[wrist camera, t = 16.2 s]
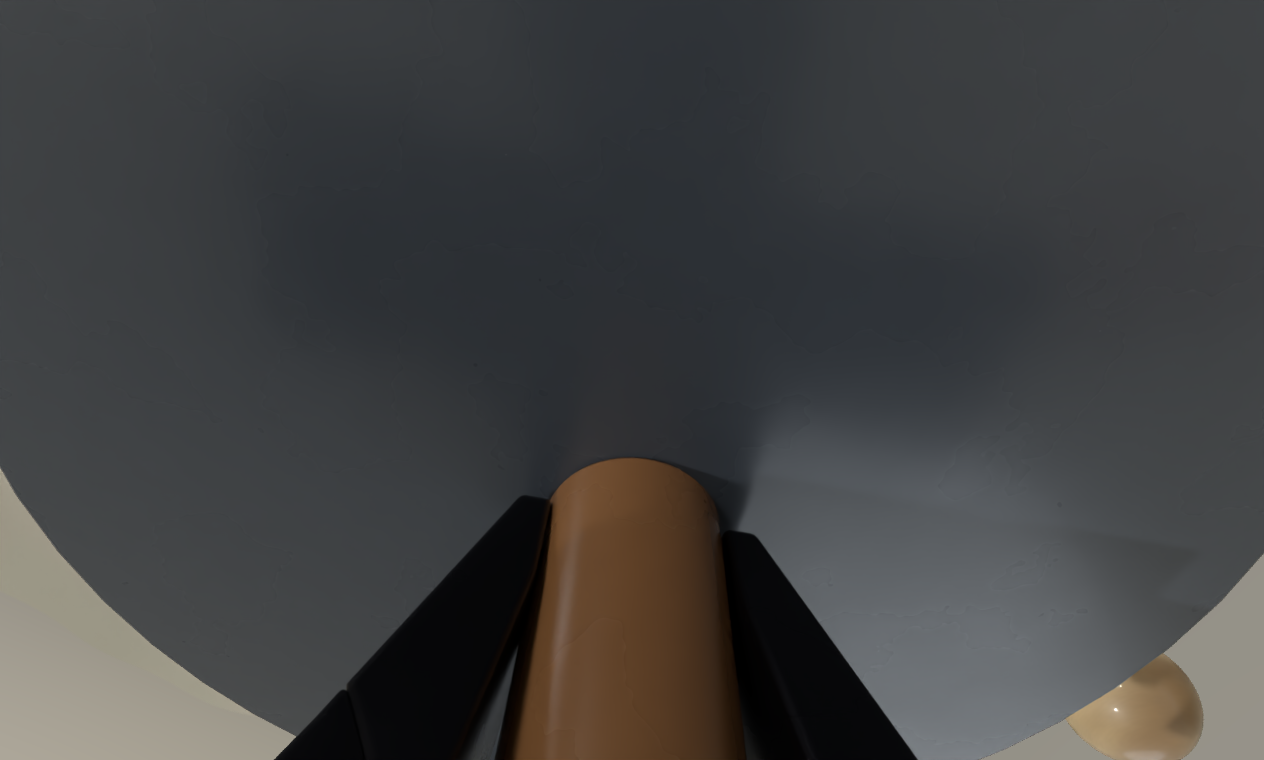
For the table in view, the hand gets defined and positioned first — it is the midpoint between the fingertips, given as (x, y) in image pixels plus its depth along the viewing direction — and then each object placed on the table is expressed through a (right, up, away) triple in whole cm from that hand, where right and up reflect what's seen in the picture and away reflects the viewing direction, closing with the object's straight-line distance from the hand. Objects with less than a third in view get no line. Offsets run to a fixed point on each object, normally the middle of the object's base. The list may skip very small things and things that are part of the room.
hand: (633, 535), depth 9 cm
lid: (0, 0, +1) cm, 1 cm away
